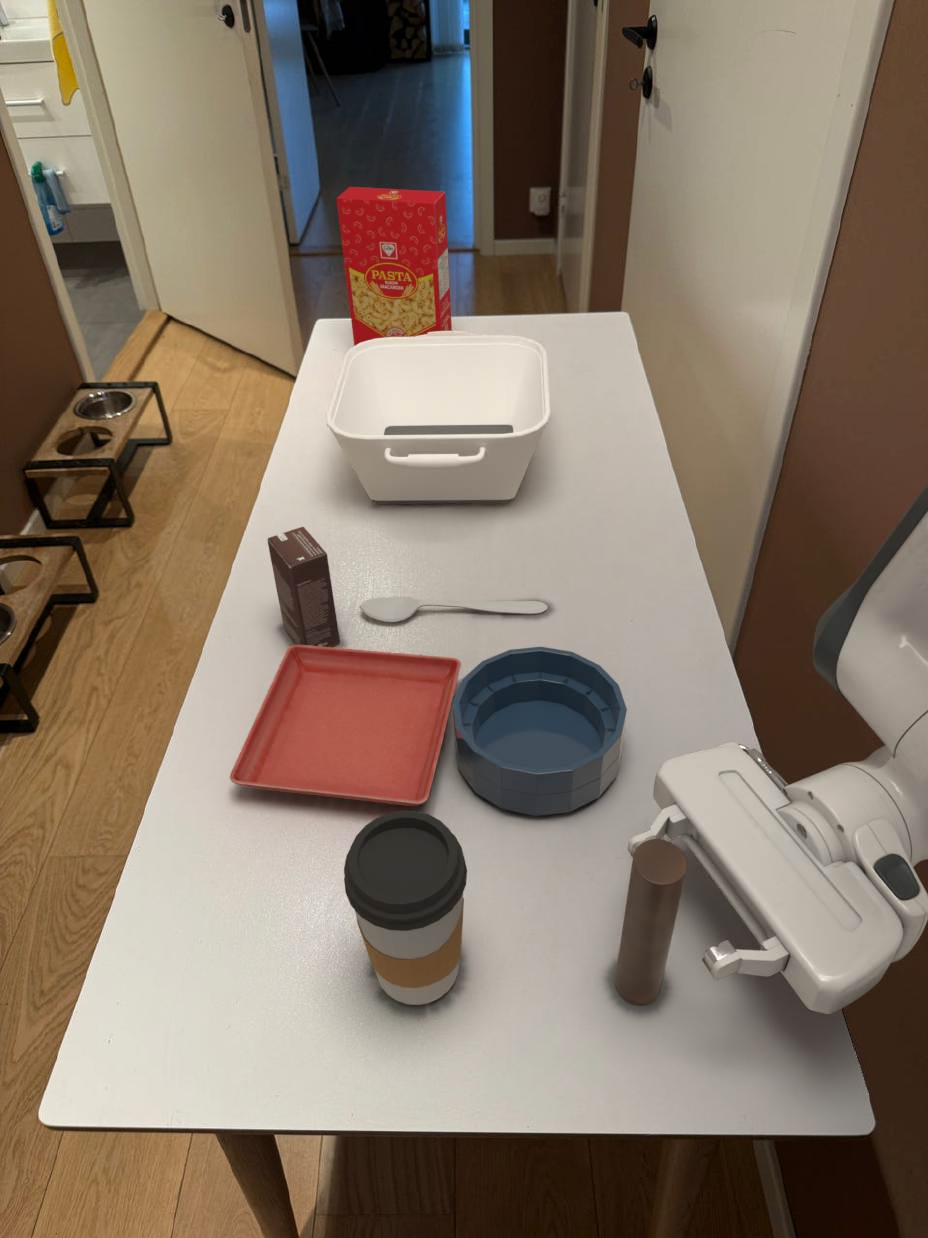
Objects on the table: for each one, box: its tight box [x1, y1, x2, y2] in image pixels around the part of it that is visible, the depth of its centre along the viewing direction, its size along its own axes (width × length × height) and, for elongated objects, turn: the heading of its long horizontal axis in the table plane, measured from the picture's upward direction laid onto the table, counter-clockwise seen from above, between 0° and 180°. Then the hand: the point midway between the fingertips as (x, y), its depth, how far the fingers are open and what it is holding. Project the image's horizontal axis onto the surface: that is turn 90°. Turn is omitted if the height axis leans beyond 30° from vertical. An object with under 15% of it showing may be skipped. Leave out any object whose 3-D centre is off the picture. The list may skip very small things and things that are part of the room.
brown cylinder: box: [614, 838, 688, 1006], centre depth 64 cm, size 3×3×16 cm
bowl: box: [452, 646, 628, 817], centre depth 84 cm, size 15×15×6 cm
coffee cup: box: [343, 810, 468, 1006], centre depth 66 cm, size 8×8×15 cm
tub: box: [325, 330, 552, 505], centre depth 120 cm, size 34×27×13 cm
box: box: [267, 526, 341, 647], centre depth 96 cm, size 6×4×12 cm
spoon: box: [359, 596, 549, 623], centre depth 101 cm, size 4×21×2 cm, turn 91°
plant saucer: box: [229, 644, 462, 807], centre depth 88 cm, size 18×18×3 cm
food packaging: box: [336, 186, 453, 347], centre depth 141 cm, size 15×5×25 cm, turn 74°
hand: (669, 907), depth 63 cm, fingers open, 8 cm apart
